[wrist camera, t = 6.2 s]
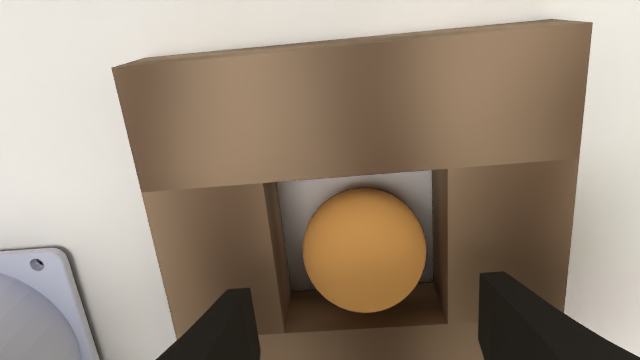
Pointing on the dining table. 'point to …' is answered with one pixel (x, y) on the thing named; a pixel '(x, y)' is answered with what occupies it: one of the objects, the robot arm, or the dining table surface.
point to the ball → (364, 250)
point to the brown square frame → (363, 172)
